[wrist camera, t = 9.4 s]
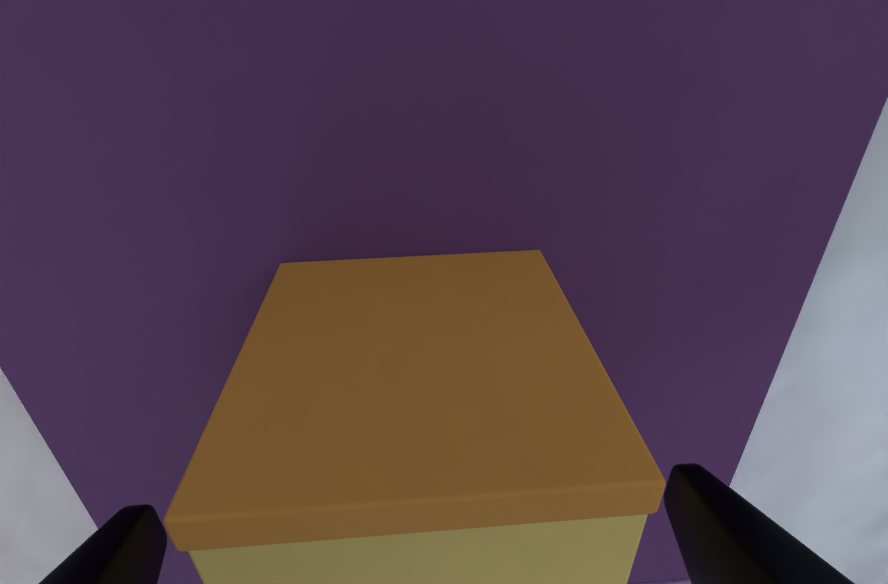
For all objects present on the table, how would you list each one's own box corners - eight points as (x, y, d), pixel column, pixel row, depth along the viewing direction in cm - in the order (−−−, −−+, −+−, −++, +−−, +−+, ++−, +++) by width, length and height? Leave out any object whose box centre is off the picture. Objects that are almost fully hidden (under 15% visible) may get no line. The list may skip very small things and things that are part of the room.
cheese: (519, 497, 13) (580, 761, 8) (333, 511, 12) (295, 790, 8) (540, 248, 9) (669, 483, 5) (279, 261, 9) (158, 522, 4)
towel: (669, 596, 17) (678, 617, 16) (183, 639, 16) (176, 663, 15) (981, -230, 7) (1036, -251, 6) (-309, -228, 6) (-388, -254, 5)
